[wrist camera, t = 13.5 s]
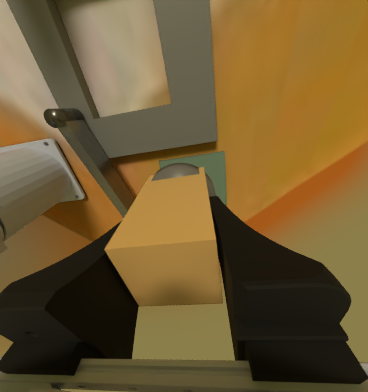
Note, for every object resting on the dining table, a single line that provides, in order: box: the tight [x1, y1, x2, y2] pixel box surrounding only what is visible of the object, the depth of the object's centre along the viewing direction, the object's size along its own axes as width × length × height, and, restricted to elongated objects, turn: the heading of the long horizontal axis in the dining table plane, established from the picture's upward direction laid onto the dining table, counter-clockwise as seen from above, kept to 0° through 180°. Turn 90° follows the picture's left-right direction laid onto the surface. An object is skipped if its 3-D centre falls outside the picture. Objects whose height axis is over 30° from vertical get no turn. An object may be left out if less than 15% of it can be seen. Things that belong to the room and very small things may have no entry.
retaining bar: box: [44, 108, 135, 218], centre depth 17 cm, size 15×1×3 cm, turn 22°
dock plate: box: [6, 0, 218, 158], centre depth 14 cm, size 15×14×1 cm
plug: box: [104, 163, 223, 306], centre depth 9 cm, size 5×5×7 cm
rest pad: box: [159, 151, 227, 205], centre depth 20 cm, size 8×7×1 cm
